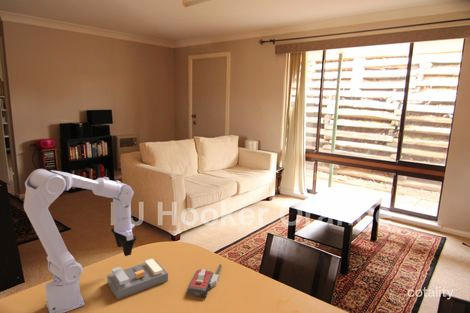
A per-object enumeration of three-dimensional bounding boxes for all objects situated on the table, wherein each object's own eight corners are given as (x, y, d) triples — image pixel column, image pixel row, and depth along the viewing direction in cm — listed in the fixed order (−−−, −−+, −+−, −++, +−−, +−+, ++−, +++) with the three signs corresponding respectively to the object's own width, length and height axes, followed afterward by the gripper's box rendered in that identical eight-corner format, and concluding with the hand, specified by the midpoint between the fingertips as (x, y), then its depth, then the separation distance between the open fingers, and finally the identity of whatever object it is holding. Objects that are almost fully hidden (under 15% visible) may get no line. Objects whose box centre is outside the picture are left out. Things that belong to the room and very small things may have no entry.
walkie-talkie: (210, 301, 102) (223, 268, 121) (211, 290, 101) (223, 258, 120) (185, 297, 103) (201, 265, 122) (185, 286, 102) (201, 255, 121)
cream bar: (154, 275, 109) (154, 272, 108) (145, 263, 116) (144, 260, 115) (162, 272, 110) (162, 269, 110) (152, 261, 117) (152, 258, 117)
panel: (117, 299, 100) (116, 291, 100) (107, 282, 109) (106, 275, 108) (167, 280, 111) (167, 273, 111) (155, 266, 120) (155, 259, 119)
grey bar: (120, 285, 101) (120, 281, 101) (111, 272, 108) (111, 269, 108) (129, 282, 103) (129, 278, 103) (120, 269, 110) (120, 266, 110)
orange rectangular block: (136, 279, 106) (136, 274, 106) (134, 276, 107) (134, 272, 107) (144, 276, 108) (144, 271, 108) (143, 274, 109) (143, 269, 109)
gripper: (141, 220, 107) (142, 255, 109) (126, 207, 118) (128, 239, 121) (120, 225, 102) (122, 262, 105) (107, 211, 113) (109, 244, 116)
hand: (124, 250), depth 113 cm, fingers open, 7 cm apart
